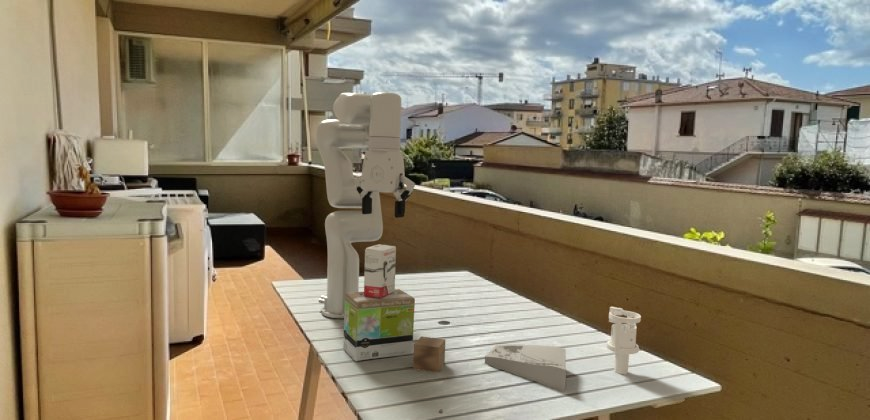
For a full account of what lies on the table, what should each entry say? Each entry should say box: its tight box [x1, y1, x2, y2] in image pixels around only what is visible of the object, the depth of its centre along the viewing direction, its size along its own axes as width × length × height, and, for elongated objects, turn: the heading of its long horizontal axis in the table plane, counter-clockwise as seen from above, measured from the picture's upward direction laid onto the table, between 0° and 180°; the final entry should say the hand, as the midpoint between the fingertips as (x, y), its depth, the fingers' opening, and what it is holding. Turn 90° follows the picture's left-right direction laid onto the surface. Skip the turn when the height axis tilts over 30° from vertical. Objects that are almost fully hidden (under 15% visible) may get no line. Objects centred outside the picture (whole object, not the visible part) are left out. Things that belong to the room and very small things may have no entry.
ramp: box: [484, 343, 567, 392], centre depth 131 cm, size 28×16×5 cm, turn 28°
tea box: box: [342, 288, 416, 362], centre depth 138 cm, size 15×10×15 cm, turn 117°
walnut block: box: [412, 336, 446, 373], centre depth 130 cm, size 6×6×6 cm
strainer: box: [606, 306, 642, 375], centre depth 130 cm, size 7×7×15 cm
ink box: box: [363, 243, 397, 298], centre depth 137 cm, size 9×5×12 cm, turn 161°
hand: (382, 215), depth 136 cm, fingers open, 9 cm apart
